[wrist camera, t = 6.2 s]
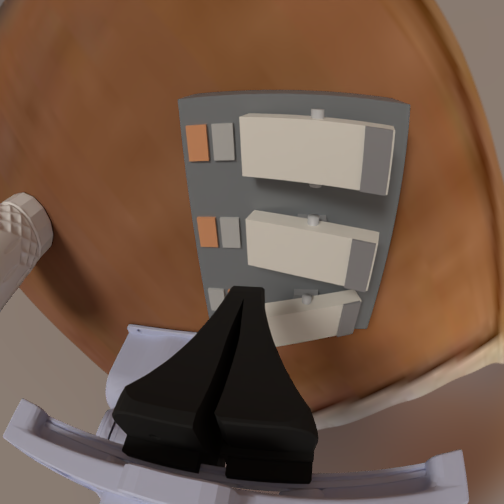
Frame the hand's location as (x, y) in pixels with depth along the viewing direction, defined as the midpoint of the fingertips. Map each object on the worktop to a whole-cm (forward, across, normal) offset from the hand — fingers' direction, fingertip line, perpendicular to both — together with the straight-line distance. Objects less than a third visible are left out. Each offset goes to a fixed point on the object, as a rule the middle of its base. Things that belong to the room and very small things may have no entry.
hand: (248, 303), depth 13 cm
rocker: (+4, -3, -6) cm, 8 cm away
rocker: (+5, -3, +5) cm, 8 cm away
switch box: (+9, -2, 0) cm, 9 cm away
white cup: (+10, +23, +1) cm, 25 cm away
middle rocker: (+5, -3, 0) cm, 5 cm away
